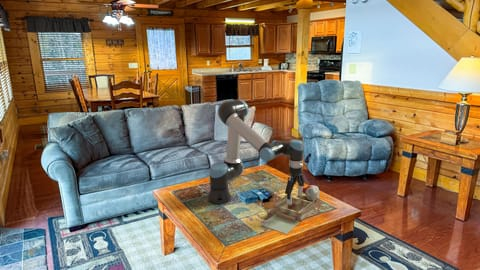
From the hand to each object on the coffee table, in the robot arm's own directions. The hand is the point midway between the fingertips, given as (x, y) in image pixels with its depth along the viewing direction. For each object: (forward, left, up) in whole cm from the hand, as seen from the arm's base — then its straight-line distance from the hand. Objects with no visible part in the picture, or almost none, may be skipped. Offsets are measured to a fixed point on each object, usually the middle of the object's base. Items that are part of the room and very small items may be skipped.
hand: (294, 199), depth 194 cm
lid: (0, -17, -8) cm, 19 cm away
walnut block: (0, 0, -7) cm, 7 cm away
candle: (0, +24, -8) cm, 25 cm away
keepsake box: (0, 0, -8) cm, 8 cm away
